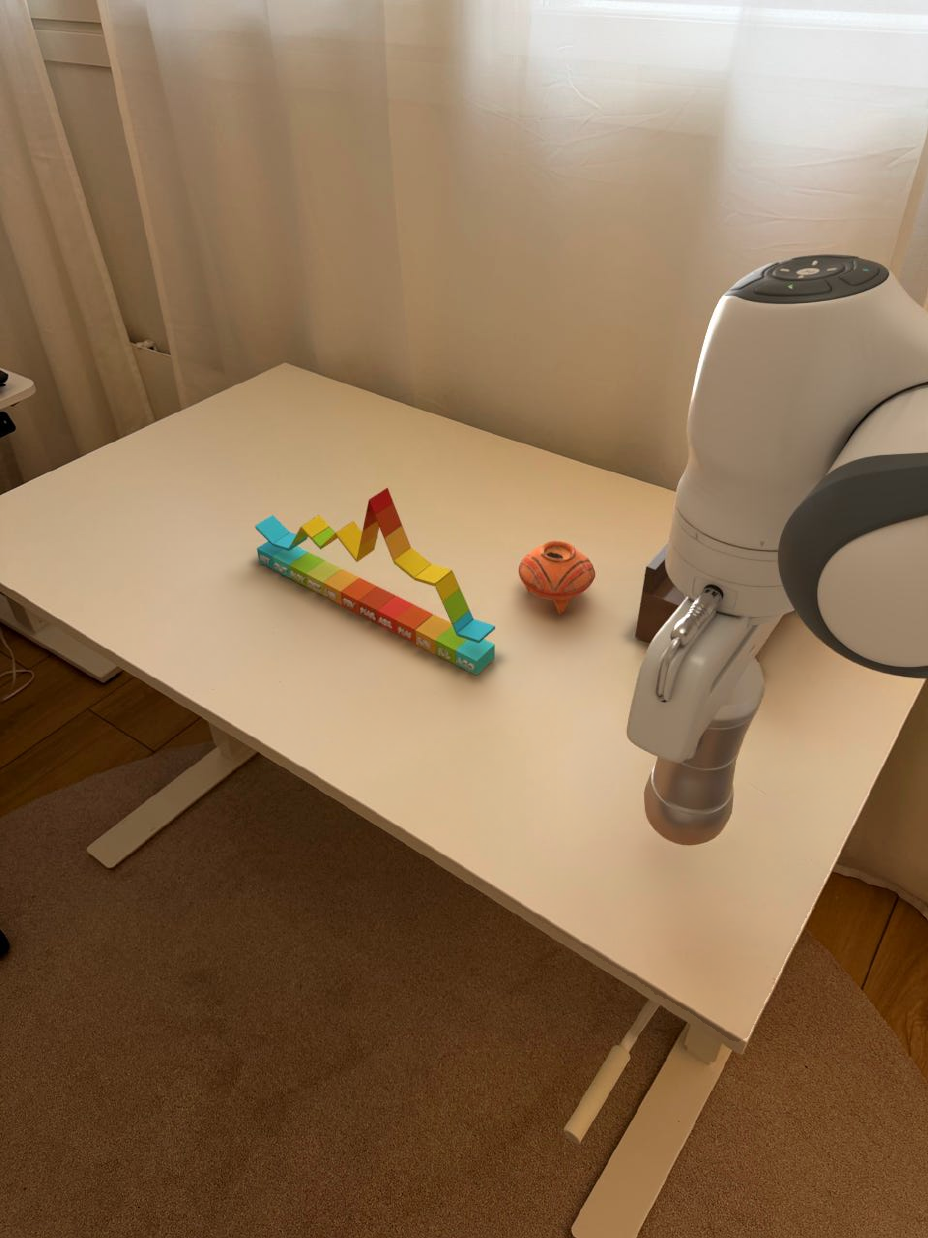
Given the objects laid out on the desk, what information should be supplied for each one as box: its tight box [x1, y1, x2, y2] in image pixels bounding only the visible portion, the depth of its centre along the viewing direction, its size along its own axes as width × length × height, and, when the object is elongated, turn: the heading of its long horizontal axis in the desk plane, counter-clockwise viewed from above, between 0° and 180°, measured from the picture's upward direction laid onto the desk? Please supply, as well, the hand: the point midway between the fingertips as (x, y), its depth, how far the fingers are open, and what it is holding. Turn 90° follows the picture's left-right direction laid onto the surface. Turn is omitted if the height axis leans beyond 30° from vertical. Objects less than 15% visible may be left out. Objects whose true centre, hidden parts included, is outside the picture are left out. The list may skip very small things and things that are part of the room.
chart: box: [254, 487, 496, 676], centre depth 89 cm, size 30×3×15 cm, turn 53°
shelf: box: [634, 542, 765, 664], centre depth 90 cm, size 12×16×9 cm
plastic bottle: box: [643, 645, 766, 847], centre depth 62 cm, size 6×7×20 cm
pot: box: [518, 540, 596, 615], centre depth 93 cm, size 8×8×7 cm
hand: (707, 713), depth 61 cm, fingers closed on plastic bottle, 6 cm apart
